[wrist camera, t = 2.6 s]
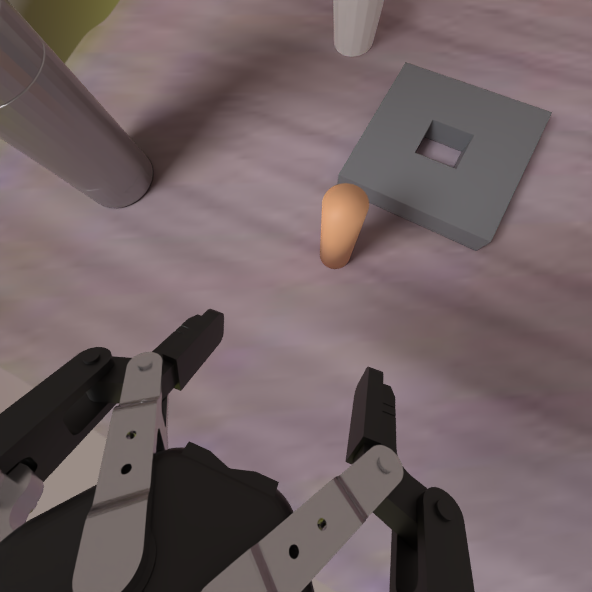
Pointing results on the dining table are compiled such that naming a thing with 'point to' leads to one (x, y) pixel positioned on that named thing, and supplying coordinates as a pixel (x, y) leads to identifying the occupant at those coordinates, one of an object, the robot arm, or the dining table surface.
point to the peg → (341, 223)
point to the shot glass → (355, 25)
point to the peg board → (454, 133)
